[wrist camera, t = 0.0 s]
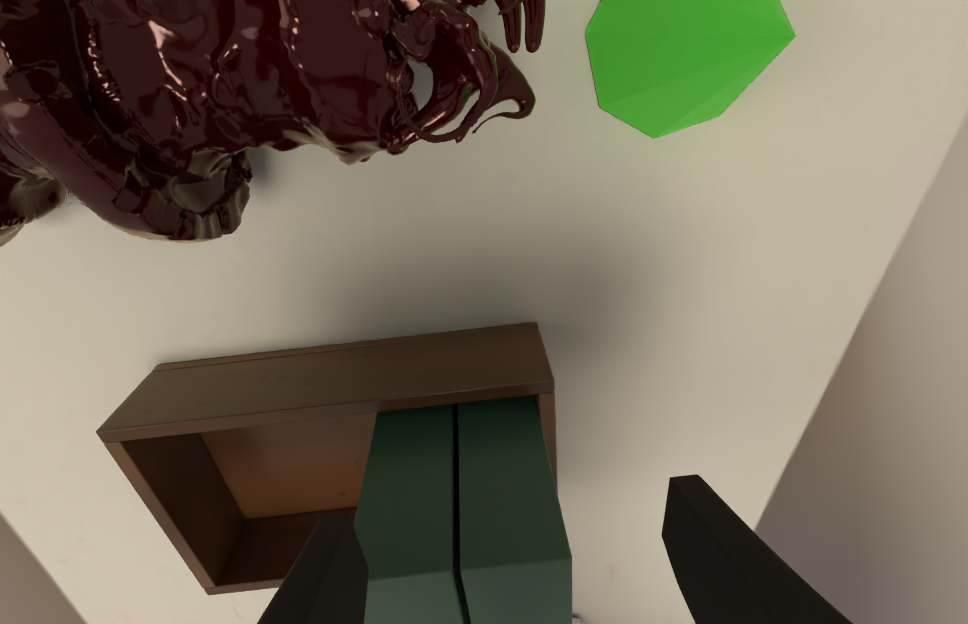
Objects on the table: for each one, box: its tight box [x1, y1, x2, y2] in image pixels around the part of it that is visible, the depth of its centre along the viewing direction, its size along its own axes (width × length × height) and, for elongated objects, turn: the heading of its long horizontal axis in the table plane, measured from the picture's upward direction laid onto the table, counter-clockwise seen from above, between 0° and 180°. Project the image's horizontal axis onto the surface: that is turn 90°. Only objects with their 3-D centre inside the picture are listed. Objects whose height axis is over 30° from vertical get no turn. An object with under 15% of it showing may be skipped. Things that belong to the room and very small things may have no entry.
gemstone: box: [585, 0, 795, 138], centre depth 12 cm, size 6×6×6 cm
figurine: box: [0, 0, 546, 247], centre depth 11 cm, size 10×10×18 cm
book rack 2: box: [458, 395, 572, 624], centre depth 18 cm, size 7×3×9 cm, turn 6°
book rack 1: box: [96, 322, 558, 595], centre depth 21 cm, size 10×16×4 cm, turn 96°
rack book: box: [353, 403, 471, 624], centre depth 18 cm, size 7×3×9 cm, turn 6°
